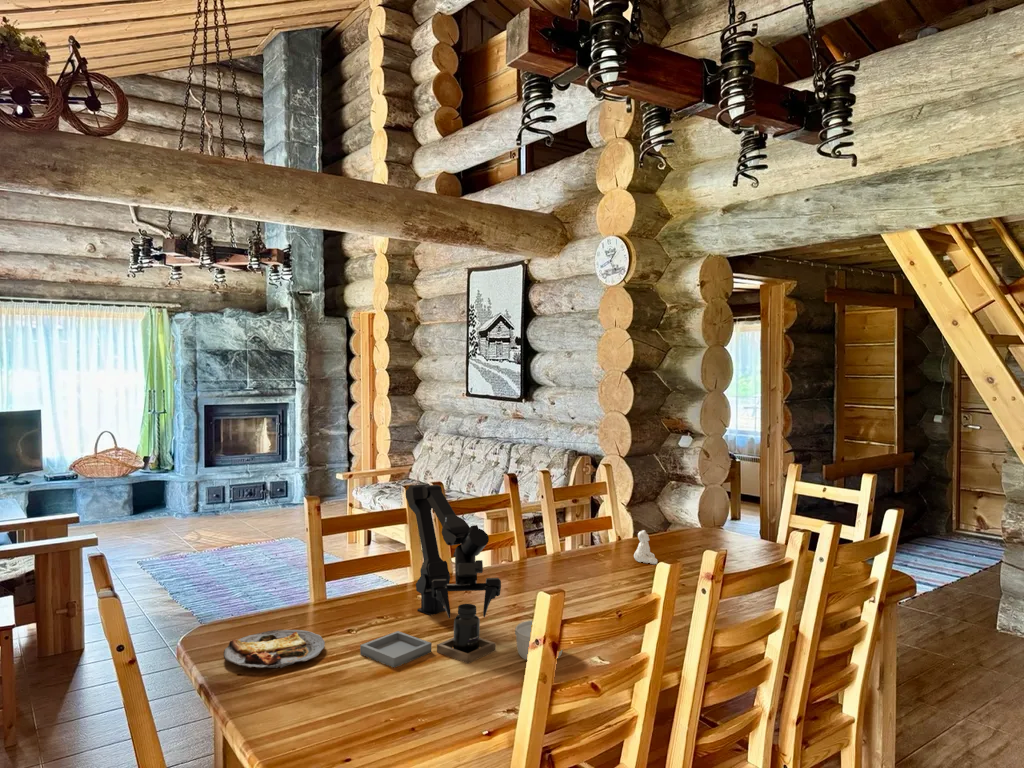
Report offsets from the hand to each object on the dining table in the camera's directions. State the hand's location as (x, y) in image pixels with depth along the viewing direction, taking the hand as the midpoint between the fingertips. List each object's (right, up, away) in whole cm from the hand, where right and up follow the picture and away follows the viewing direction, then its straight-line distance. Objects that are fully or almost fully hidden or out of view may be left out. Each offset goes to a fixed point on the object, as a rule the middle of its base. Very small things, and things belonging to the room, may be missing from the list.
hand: (467, 617), depth 195 cm
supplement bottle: (0, -9, -1) cm, 9 cm away
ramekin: (+19, -9, -2) cm, 22 cm away
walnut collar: (0, -9, -1) cm, 9 cm away
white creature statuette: (+63, -7, +88) cm, 109 cm away
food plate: (-50, -9, -4) cm, 51 cm away
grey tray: (-18, -9, -3) cm, 20 cm away
